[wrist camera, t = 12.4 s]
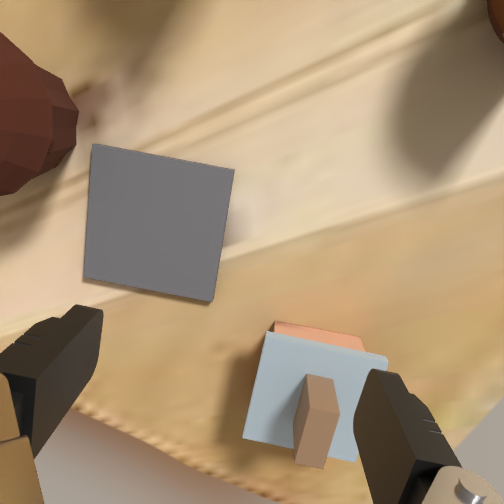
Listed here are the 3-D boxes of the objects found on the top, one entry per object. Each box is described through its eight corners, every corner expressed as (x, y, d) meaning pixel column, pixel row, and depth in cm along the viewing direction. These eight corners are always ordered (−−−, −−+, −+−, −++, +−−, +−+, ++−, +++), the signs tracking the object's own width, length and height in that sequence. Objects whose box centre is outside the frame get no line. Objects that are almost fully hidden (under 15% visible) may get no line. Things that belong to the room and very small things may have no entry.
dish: (259, 393, 41) (256, 424, 37) (274, 320, 39) (274, 344, 35) (339, 409, 41) (346, 441, 37) (359, 337, 39) (369, 362, 34)
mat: (87, 274, 39) (83, 277, 38) (96, 143, 36) (92, 143, 35) (213, 298, 39) (212, 302, 38) (234, 169, 35) (233, 170, 35)
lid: (243, 430, 37) (236, 478, 32) (266, 330, 34) (263, 366, 29) (353, 453, 37) (365, 506, 32) (385, 356, 34) (404, 396, 29)
